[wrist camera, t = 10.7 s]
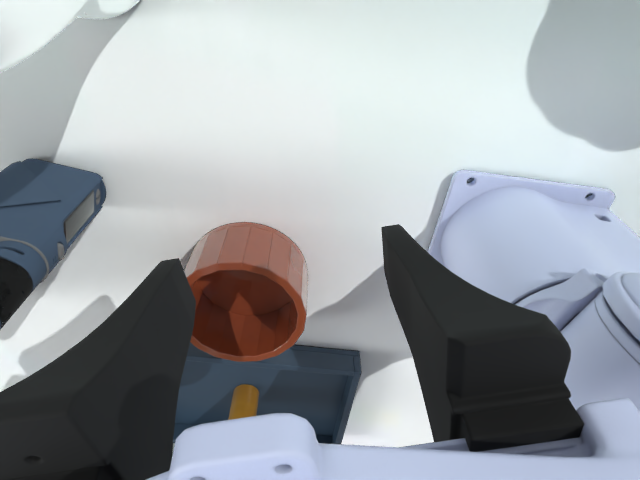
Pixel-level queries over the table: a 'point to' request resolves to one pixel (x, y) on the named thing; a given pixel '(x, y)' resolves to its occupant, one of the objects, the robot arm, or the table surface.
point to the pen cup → (247, 292)
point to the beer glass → (45, 23)
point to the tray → (273, 387)
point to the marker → (244, 402)
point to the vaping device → (40, 223)
